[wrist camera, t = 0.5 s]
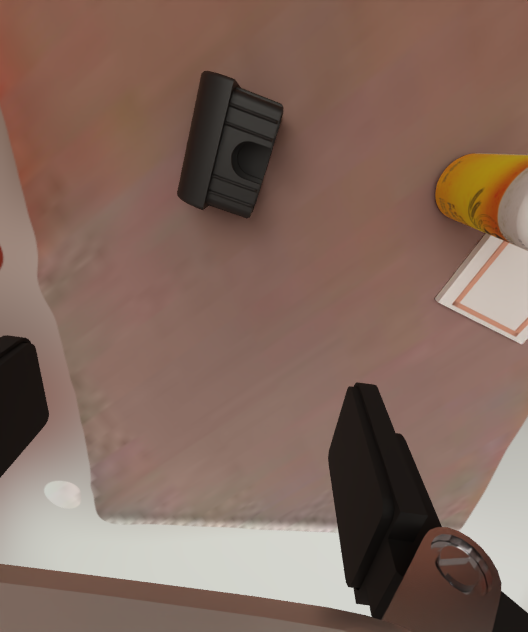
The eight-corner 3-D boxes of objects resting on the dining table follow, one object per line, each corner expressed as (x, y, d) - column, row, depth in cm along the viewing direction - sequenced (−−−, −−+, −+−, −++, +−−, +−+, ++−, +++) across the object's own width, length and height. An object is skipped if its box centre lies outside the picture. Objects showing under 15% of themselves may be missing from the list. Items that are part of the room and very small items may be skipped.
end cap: (211, 79, 31) (194, 63, 25) (285, 107, 32) (285, 98, 26) (187, 189, 35) (168, 198, 29) (252, 212, 36) (246, 225, 30)
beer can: (421, 209, 35) (508, 248, 22) (450, 145, 32) (569, 144, 19) (476, 225, 35) (595, 272, 22) (509, 162, 33) (667, 173, 19)
